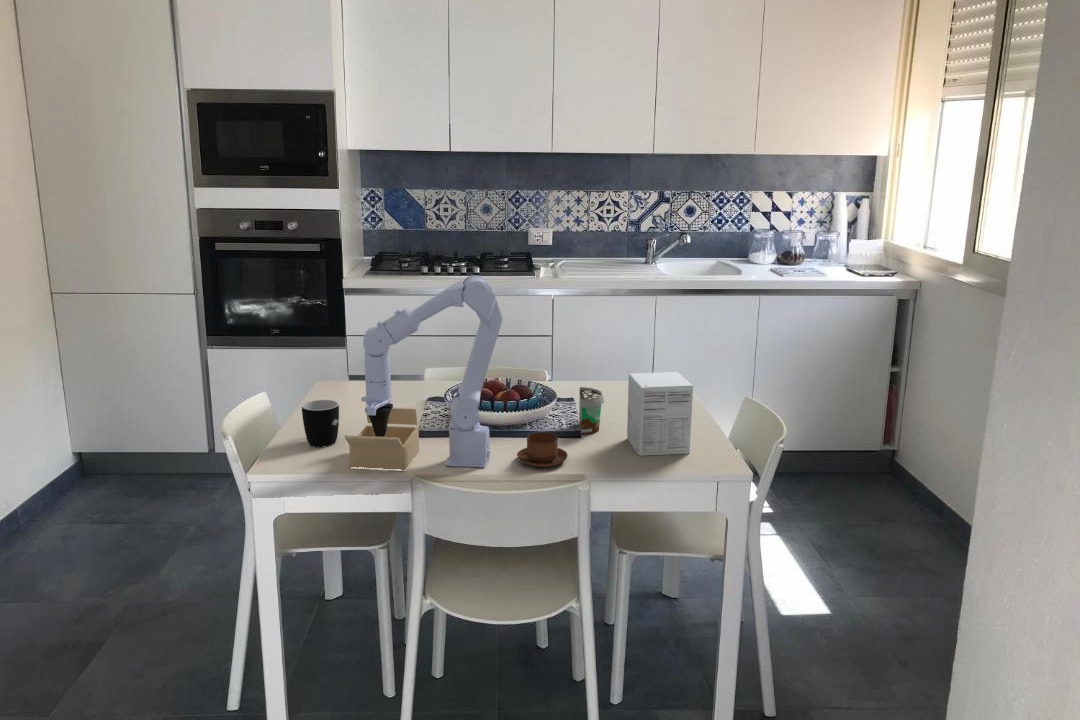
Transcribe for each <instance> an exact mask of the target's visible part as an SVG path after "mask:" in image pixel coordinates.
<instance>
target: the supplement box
mask: <svg viewBox="0 0 1080 720" xmlns="http://www.w3.org/2000/svg"><path fill="white" fill-rule="evenodd" d="M627 385H628V390H627V428H626V429H627V430H626V437H627V441H628V443H630V445H631V446H632V448H633V449H634V451H635V453H637V455H638V456H640V457H641V456H660V455H661V456H663V455H664V456H665V455H667V456H669V455H686V454H688V453H689V454H690V451H691V449H690V448H691V433H692V411H693V397H694V396H693V392H694V385H693V384H692V383H691V382H690V381H688V380H687V379H686V377H684V376H683V375H682V374H681V373H680V372H678V371H666V372H663V371H662V372H661V371H660V372H633V373H628V384H627ZM689 454H688V455H689Z"/></svg>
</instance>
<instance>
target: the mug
mask: <svg viewBox="0 0 1080 720" xmlns="http://www.w3.org/2000/svg"><path fill="white" fill-rule="evenodd" d="M301 415H302V416H301V417H302V421H303V428H304V434H305V437H306V440H307V443H308V444H309V446H310V447H313V446H315V447H314V448H324V447H323V446H328V447H330V446H329V445H331V446H333V445H335V443H336V442H337V440H338V436H339V435H338V434H339V426H340V424H339V423H340V405H339V402H337V401H335V400H332V399H315V400H310V401H307V402H305V403H303V404H302V405H301ZM332 444H333V445H332Z"/></svg>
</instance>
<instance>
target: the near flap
mask: <svg viewBox="0 0 1080 720" xmlns="http://www.w3.org/2000/svg"><path fill="white" fill-rule="evenodd" d="M344 439H345V441H346V442H347V443H348V446H349V445H359V446H384V447H403V445H402V443H401V441H400V439H399V438H397V437H371V436H358V435H344Z"/></svg>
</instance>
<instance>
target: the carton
mask: <svg viewBox="0 0 1080 720" xmlns="http://www.w3.org/2000/svg"><path fill="white" fill-rule="evenodd" d="M419 430H420V429H419V427H415V426H391V425H387V430H386V434H385V436H384V437H397V438H399V439H400V441H401V443H402V445H403V447H384V446H359V445H349V444H348V446H349V449H348V450H349V463H350V464H349V465H350V466H349V467H357V468H358V467H364V468H365V467H366V468H383V469H401V470H406V468H407V467H408V465H409V464H410V462H411V461H412V459H413V458H414V457H415V458H416V456H417V455H418V453H419V452H420V438H419V437H420V436H419V435H420V434H419V432H420V431H419ZM357 436H371V437H378V436H375V433H374V430H373V426H372V425H366V426H364V428H362V430H361V431H360V432H359V433H358V434H357ZM418 451H419V452H418ZM417 452H418V453H417ZM416 454H417V455H416ZM415 455H416V456H415ZM415 458H414V459H415ZM414 459H413V460H414ZM412 462H413V461H412ZM412 462H411V463H412ZM410 465H411V464H410ZM410 465H409V466H410ZM408 468H409V467H408ZM408 468H407V469H408ZM406 471H407V470H406Z"/></svg>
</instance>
